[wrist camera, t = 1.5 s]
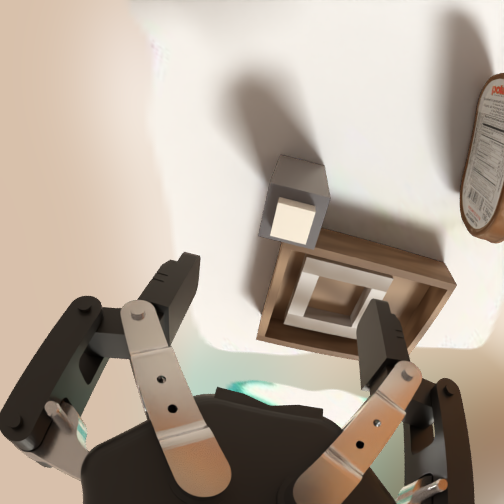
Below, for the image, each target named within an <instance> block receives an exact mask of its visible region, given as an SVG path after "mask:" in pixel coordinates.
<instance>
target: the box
mask: <svg viewBox="0 0 504 504" xmlns="http://www.w3.org/2000/svg"><path fill="white" fill-rule="evenodd" d="M456 286H457V284H456V282H455V281H454V279H453V277H452V275H451V273H450V272H449V270H448V268H447V266H446V265H445V263H443V262H440V261H437V260H433V259H430V258H427V257H424V256H420V255H417V254H413V253H410V252H407V251H403V250H400V249H396V248H393V247H390V246H386V245H383V244H379V243H375V242H372V241H368V240H365V239H361V238H357V237H354V236H350V235H346V234H343V233H339V232H335V231H331V230H328V229H324V228H321V230H320V233H319V236H318V239H317V242H316V245H315V248H314V250H312V249H308V248H304V247H300V246H296V245H292V244H288V243H284V242H282V243H281V246H280V250H279V254H278V257H277V261H276V265H275V268H274V272H273V276H272V279H271V283H270V287H269V290H268V294H267V297H266V301H265V305H264V308H263V312H262V315H261V320H260V324H259V329H258V333H257V338H256V340H260V341H264V342H269V343H273V344H277V345H282V346H286V347H291V348H295V349H300V350H305V351H310V352H315V353H320V354H325V355H330V356H336V357H342V358H347V359H353V360H358V361H359V356H358V346H357V336H356V330H357V326H358V323H359V321H360V319H361V317H362V315H363V313H364V311H365V310H366V308H367V306H368V304H369V302H370V300H371V299H373V298H374V299H379V300H383V301H387V302H388V303H389V307H390V311H391V313H392V314H395V315H396V317H397V318H398V320H399V321H400V323H401V326H402V330H403V331H402V332H403V334H404V339H405V342H406V346H407V350H408V354H410V353H411V352H412V350H413V349H414V348H415V346H416V345H417V344H418V342H419V341H420V340H421V338H422V337H423V336H424V334H425V333H426V331H427V330H428V329H429V327H430V326H431V324H432V323H433V321H434V320H435V319H436V317H437V316H438V314H439V313H440V311H441V310H442V308H443V307H444V305H445V303H446V302H447V300H448V299H449V297H450V296H451V294H452V292H453V291H454V289H455V288H456Z"/></svg>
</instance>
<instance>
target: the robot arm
mask: <svg viewBox="0 0 504 504" xmlns="http://www.w3.org/2000/svg"><path fill="white" fill-rule="evenodd" d="M199 269H200V256H199V255H195V254H191V253H187V252H184V253H183V254H182V255H181V257H180V258H179V260H178V261H174V260H170V261H168V262H166V263H164V264H163V265H162V266H161V267H160V269H159V270H158V271H157V273H156V274H155V276H154V277H153V279H152V280H151V281H150V282H149V284H148V285H147V287H146V288H145V289H144V291H143V292H142V294H141V295H140V297H139V298H138V300H133V301H130V302H128V303H126V304H125V305H124V306H123V307H122V308H106V307H102V305H101V302H100V301H99V300H98V299H97V298H95V297H92V296H82V297H79V298H77V299H75V300H74V301H73V302H72V303H71V304H70V306H69V307H68V308H67V310H66V311H65V313H64V314H63V315H62V317H61V318H60V319H59V321H58V322H57V324H56V325H55V326H54V328H53V329H52V330H51V332H50V333H49V335H48V336H47V338H46V339H45V341H44V342H43V343H42V345H41V346H40V348H39V349H38V351H37V353H36V354H35V355H34V357H33V359H32V360H31V362H30V363H29V365H28V366H27V368H26V369H25V371H24V373H23V374H22V376H21V377H20V379H19V381H18V382H17V384H16V386H15V387H14V389H13V391H12V392H11V394H10V396H9V398H8V399H7V401H6V403H5V405H4V407H3V409H2V410H1V412H0V430H1V432H2V434H3V435H4V436H5V437H6V438H7V439H8V440H9V441H11V442H12V443H13V444H14V445H15V446H16V447H17V448H18V449H19V450H20V451H22V452H23V453H24V454H26V455H27V456H28V457H29V458H31V459H32V460H34V461H36V462H38V463H39V464H40V465H42V466H44V467H49V468H51V467H54V468H56V469H58V470H59V471H61V472H63V473H65V474H67V475H69V476H71V477H73V478H75V479H77V480H79V481H81V483H82V489H83V504H475V503H474V482H473V471H472V460H471V451H470V444H469V437H468V430H467V425H466V419H465V413H464V409H463V403H462V399H461V394H460V390H459V388H458V386H457V385H456V383H454V382H453V381H452V380H450V379H448V378H443V379H440V380H439V381H438V382H437V383H436V384H435V383H432V382H430V381H428V380H425V379H423V378H422V374H421V371H420V370H419V368H418V367H417V366H416V365H415V364H413V363H412V362H410V359H409V354H408V350H407V346H406V342H405V339H404V334H403V332H402V331H403V330H402V326H401V323H400V321H399V320H398V318H397V317H396V315H395V314H392V313H391V311H390V307H389V303H388V302H387V301H383V300H379V299H374V298H373V299H371V300H370V302H369V304H368V306H367V308H366V310H365V311H364V313H363V315H362V317H361V319H360V321H359V323H358V326H357V330H356V336H357V346H358V356H359V366H360V379H361V390H364V391H370V396H369V397H368V398H367V400H366V401H365V402H364V403H363V405H362V406H361V407H360V408H359V409H358V410H357V412H356V413H355V414H354V415H353V416H352V417H351V419H350V420H349V421H348V422H347V423H346V424H345V425H344V426H343V427H342V428H340V427H339V426H338V425H337V424H336V423H334V422H333V421H331V420H329V419H327V418H325V417H323V409H321V408H314V407H308V406H302V405H283V406H270V405H267V404H265V403H263V402H260V401H258V400H256V399H254V398H252V397H250V396H248V395H245V394H243V393H239V392H235V391H231V390H227V389H223V388H219V387H217V389H216V393H215V394H201V395H196V396H192V393H191V391H190V389H189V386H188V384H187V382H186V379H185V377H184V375H183V372H182V370H181V367H180V365H179V363H178V360H177V358H176V355H175V352H174V350H173V348H172V347H171V346H170V345H171V343H172V341H173V339H174V337H175V335H176V333H177V331H178V329H179V326H180V324H181V322H182V320H183V318H184V316H185V314H186V312H187V310H188V308H189V306H190V304H191V302H192V300H193V298H194V296H195V294H196V291H197V287H198V280H199ZM109 358H121V359H129V360H130V364H131V368H132V371H133V375H134V378H135V382H136V385H137V388H138V392H139V395H140V398H141V402H142V405H143V408H144V411H145V414H146V417H147V421H145V422H143V423H141V424H139V425H137V426H135V427H133V428H131V429H129V430H128V431H125V432H124V433H121V434H119V435H118V436H116V437H113V438H112V439H109V440H107V441H106V442H103V443H101V444H99V445H97V446H96V447H94V448H93V449H92V450H91V451H90V452H89V451H88V450H87V449H86V444H85V443H86V437H87V428H86V425H85V423H84V422H83V420H82V419H81V415H82V413H83V411H84V408H85V406H86V404H87V402H88V400H89V398H90V396H91V394H92V391H93V390H94V388H95V386H96V384H97V381H98V380H99V378H100V376H101V373H102V371H103V370H104V368H105V366H106V364H107V362H108V360H109ZM401 421H402V422H403V425H404V452H405V484H404V487H403V488H402V489H401V491H400V492H399V494H398V497H397V499H396V501H395V500H394V499H393V497H392V496H391V495H390V493H389V492H388V491H387V489H386V488H385V487H384V486H383V484H382V483H381V481H380V480H379V479H378V477H377V476H376V475H375V473H374V472H373V471H372V469H371V468H370V465H371V464H372V463H373V461H374V460H375V459H376V457H377V456H378V455H379V453H380V452H381V451H382V449H383V448H384V446H385V445H386V444H387V442H388V440H389V439H390V438H391V436H392V435H393V433H394V432H395V430H396V429H397V427H398V426H399V424H400V423H401ZM433 423H434V427H435V438H434V437H433V426H432V424H433Z"/></svg>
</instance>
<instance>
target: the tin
mask: <svg viewBox="0 0 504 504" xmlns="http://www.w3.org/2000/svg"><path fill="white" fill-rule="evenodd" d="M460 212H461V217H462V220H463V222H464V224H465V226H466V228H467V230H468V231H469V233H470V234H471V235H473V236H474V237H477V238H480V239H484V240H487V241H489V242H491V243H500V242H502V241H504V73H500V74H496V75H494V76H492V77H491V78H490V79H489V80H488V81H487V82H486V84H485V85H484V87H483V89H482V92H481V94H480V97H479V100H478V104H477V110H476V116H475V122H474V127H473V133H472V137H471V142H470V147H469V152H468V156H467V160H466V165H465V169H464V173H463V177H462V182H461V188H460Z"/></svg>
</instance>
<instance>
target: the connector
mask: <svg viewBox="0 0 504 504" xmlns="http://www.w3.org/2000/svg"><path fill="white" fill-rule="evenodd" d="M329 201H330V192H329V187H328V181H327V176H326V171H325V166H324V165H320V164H316V163H312V162H308V161H304V160H301V159H297V158H292V157H288V156H284V155H280V157H279V160H278V162H277V165H276V168H275V170H274V173H273V175H272V178H271V181H270V184H269V188H268V193H267V198H266V202H265V207H264V211H263V216H262V221H261V225H260V230H259V234H258V236H260V237H264V238H268V239H272V240H276V241H280V242H284V243H288V244H292V245H296V246H300V247H304V248H308V249H312V250H314V248H315V245H316V242H317V239H318V236H319V233H320V230H321V227H322V224H323V220H324V217H325V214H326V211H327V208H328V205H329Z"/></svg>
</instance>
